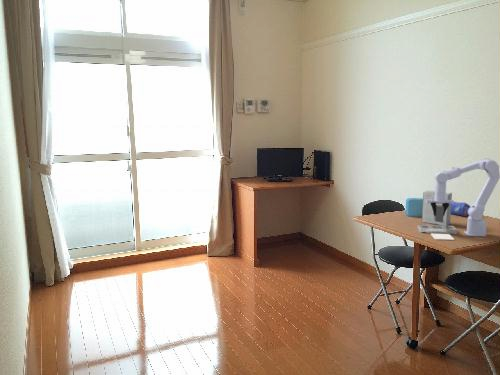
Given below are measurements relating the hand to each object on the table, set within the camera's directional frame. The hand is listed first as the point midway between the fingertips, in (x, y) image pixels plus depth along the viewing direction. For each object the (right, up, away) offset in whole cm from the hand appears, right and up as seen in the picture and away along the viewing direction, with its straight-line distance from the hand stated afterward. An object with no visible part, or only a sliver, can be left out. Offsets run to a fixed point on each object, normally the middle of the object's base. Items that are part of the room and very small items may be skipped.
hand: (438, 215), depth 241 cm
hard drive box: (+8, -6, +21) cm, 24 cm away
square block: (0, -3, +1) cm, 3 cm away
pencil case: (+29, -2, +43) cm, 52 cm away
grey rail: (0, -10, +4) cm, 10 cm away
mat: (-2, -12, -8) cm, 14 cm away
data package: (+2, -3, +40) cm, 40 cm away
